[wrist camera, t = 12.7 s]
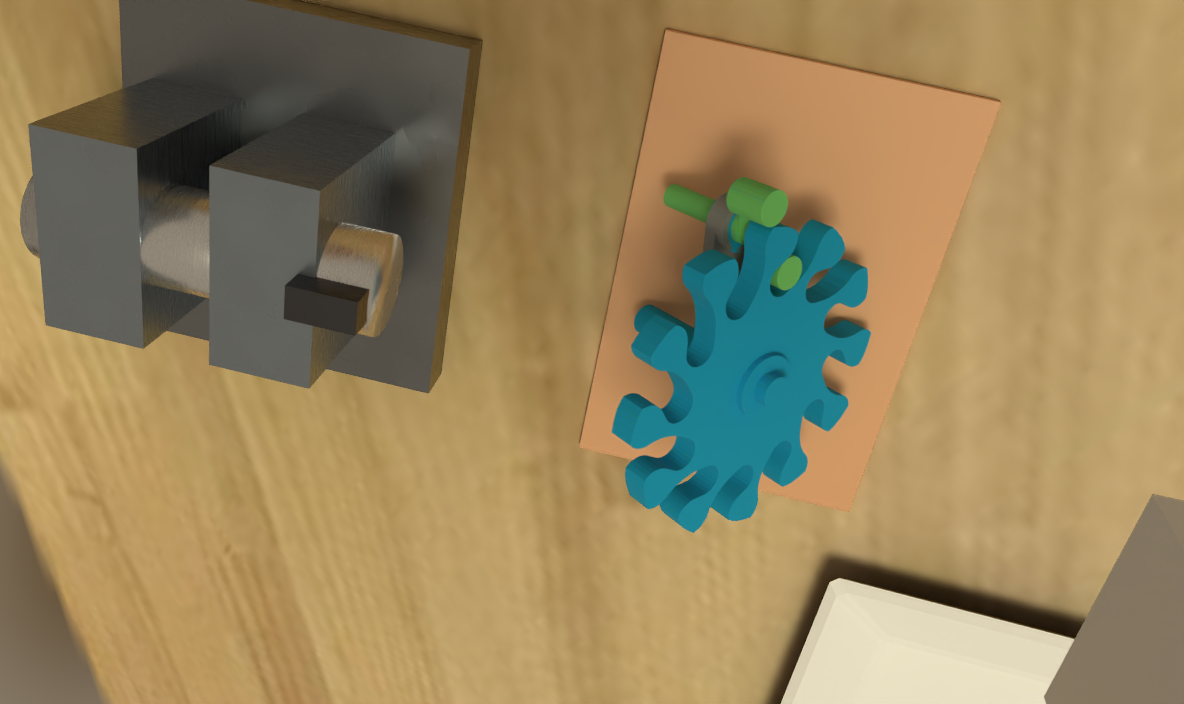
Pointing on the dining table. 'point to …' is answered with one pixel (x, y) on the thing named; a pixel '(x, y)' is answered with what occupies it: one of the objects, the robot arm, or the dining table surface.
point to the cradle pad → (793, 220)
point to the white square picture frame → (919, 653)
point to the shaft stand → (262, 190)
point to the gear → (741, 356)
